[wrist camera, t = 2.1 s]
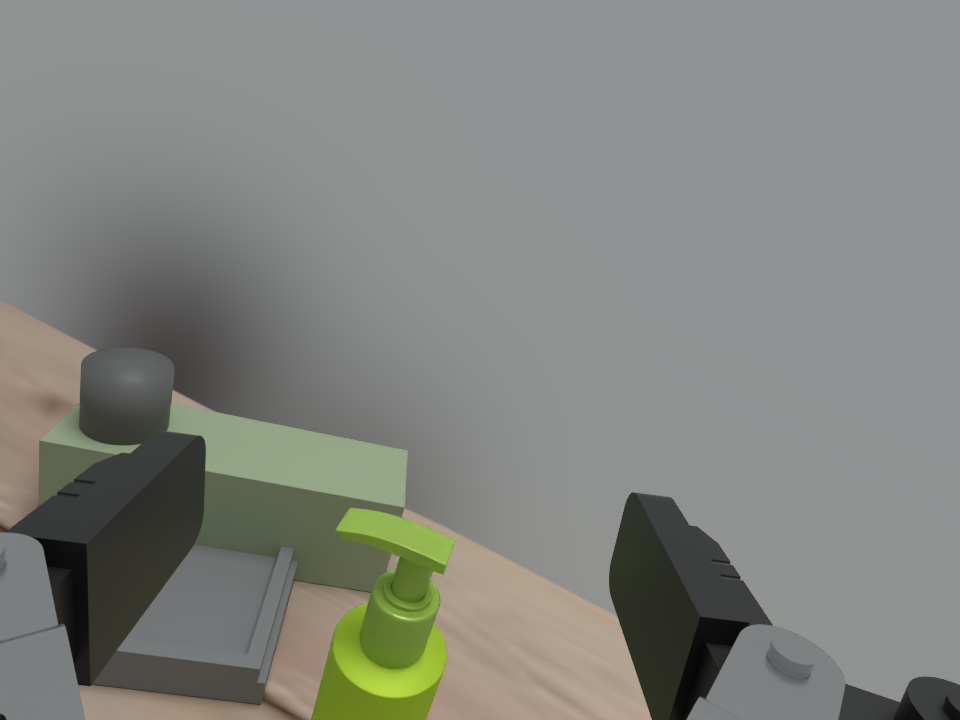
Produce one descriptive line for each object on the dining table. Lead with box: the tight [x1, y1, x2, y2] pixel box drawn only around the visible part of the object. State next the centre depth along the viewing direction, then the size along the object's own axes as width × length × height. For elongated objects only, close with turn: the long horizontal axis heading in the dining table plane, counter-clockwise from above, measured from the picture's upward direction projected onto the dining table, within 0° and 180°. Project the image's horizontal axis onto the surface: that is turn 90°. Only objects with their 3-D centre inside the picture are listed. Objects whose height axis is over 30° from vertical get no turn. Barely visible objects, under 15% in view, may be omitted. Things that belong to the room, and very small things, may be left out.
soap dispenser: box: [311, 508, 455, 720], centre depth 33 cm, size 6×7×20 cm
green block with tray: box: [39, 347, 408, 705], centre depth 46 cm, size 19×26×14 cm
